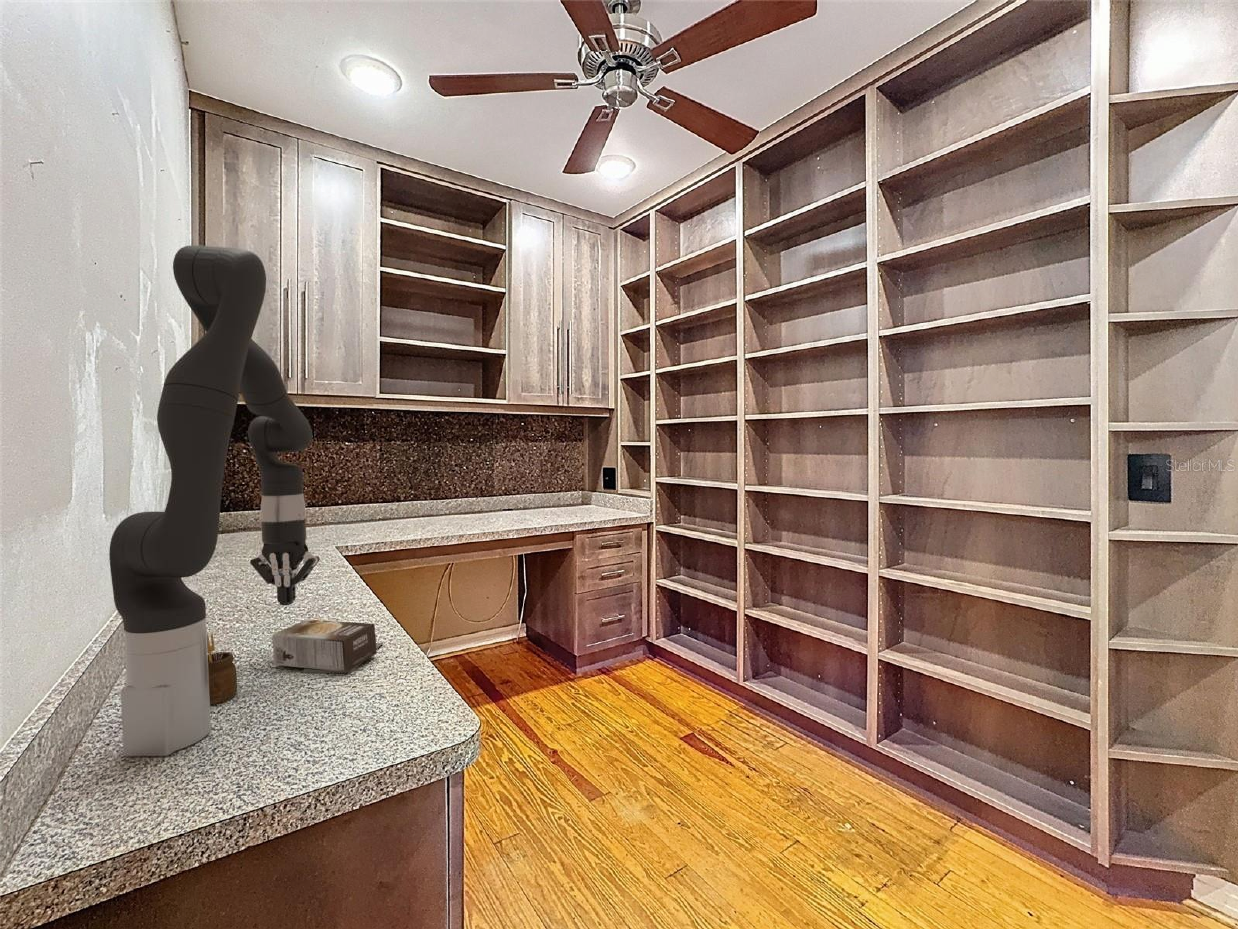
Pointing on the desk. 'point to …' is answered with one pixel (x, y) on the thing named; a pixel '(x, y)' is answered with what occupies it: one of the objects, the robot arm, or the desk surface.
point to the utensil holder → (220, 673)
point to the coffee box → (324, 645)
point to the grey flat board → (310, 670)
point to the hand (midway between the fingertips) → (286, 604)
